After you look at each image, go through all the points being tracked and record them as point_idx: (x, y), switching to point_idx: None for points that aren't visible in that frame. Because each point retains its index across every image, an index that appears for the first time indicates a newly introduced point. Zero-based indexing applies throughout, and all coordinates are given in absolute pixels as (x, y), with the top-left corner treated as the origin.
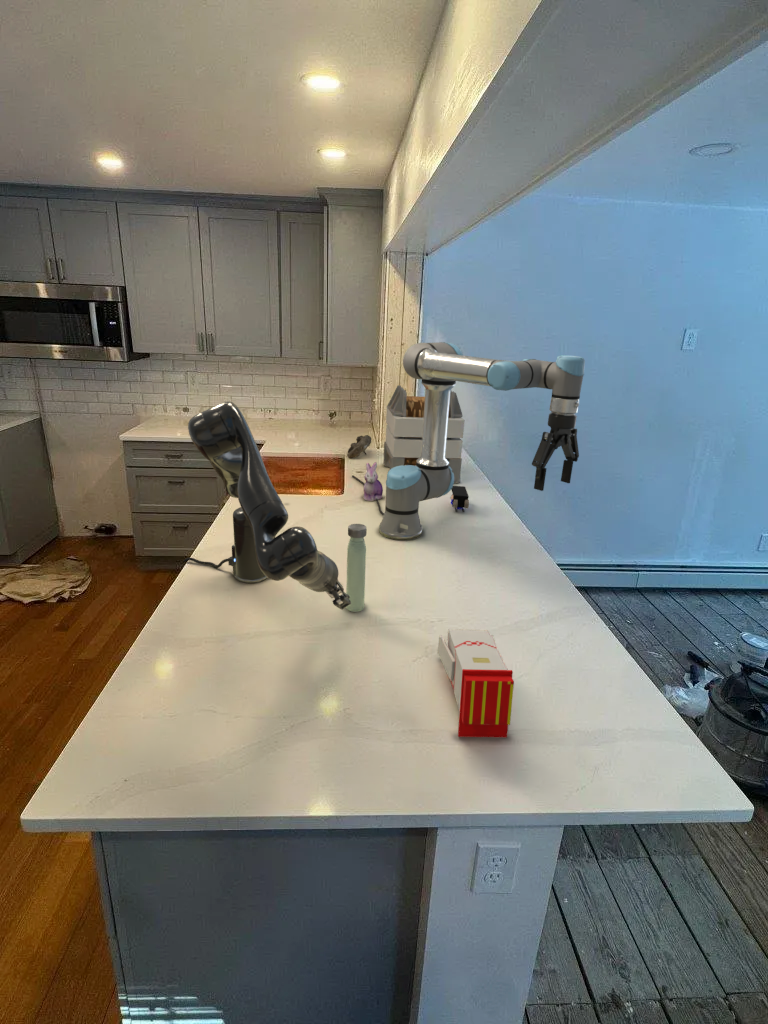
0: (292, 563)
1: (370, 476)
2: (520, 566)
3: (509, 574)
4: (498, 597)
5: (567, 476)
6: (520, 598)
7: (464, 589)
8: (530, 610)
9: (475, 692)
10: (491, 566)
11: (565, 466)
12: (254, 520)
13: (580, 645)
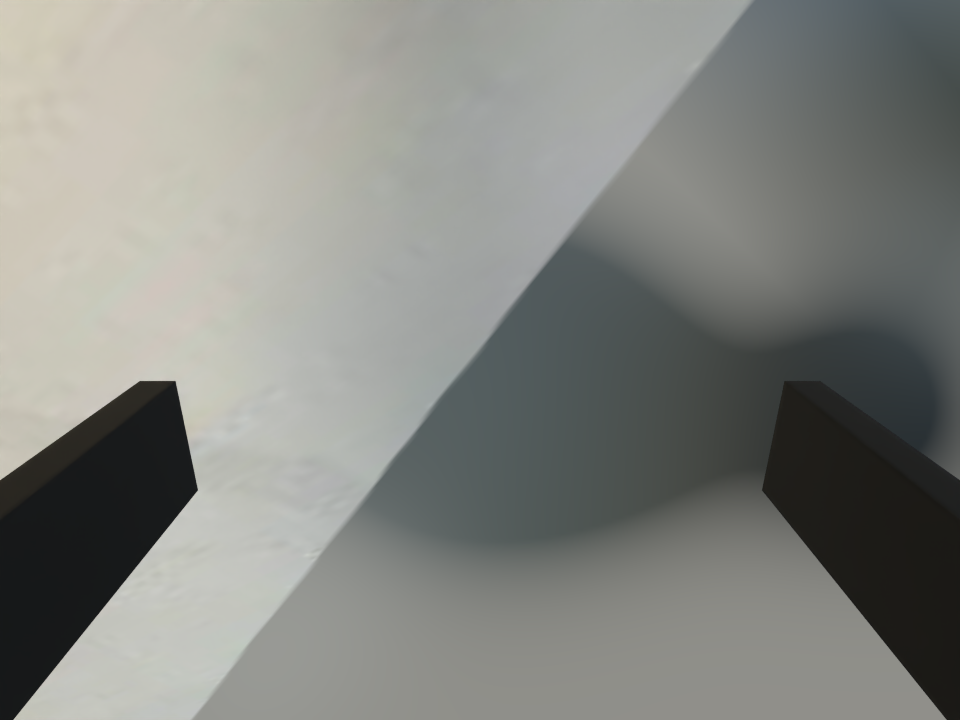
0: None
1: None
2: (461, 138)
3: (344, 163)
4: (143, 276)
5: (815, 517)
6: (219, 332)
7: (47, 138)
8: (186, 405)
9: None
10: (333, 41)
11: (944, 569)
12: None
13: (173, 590)
